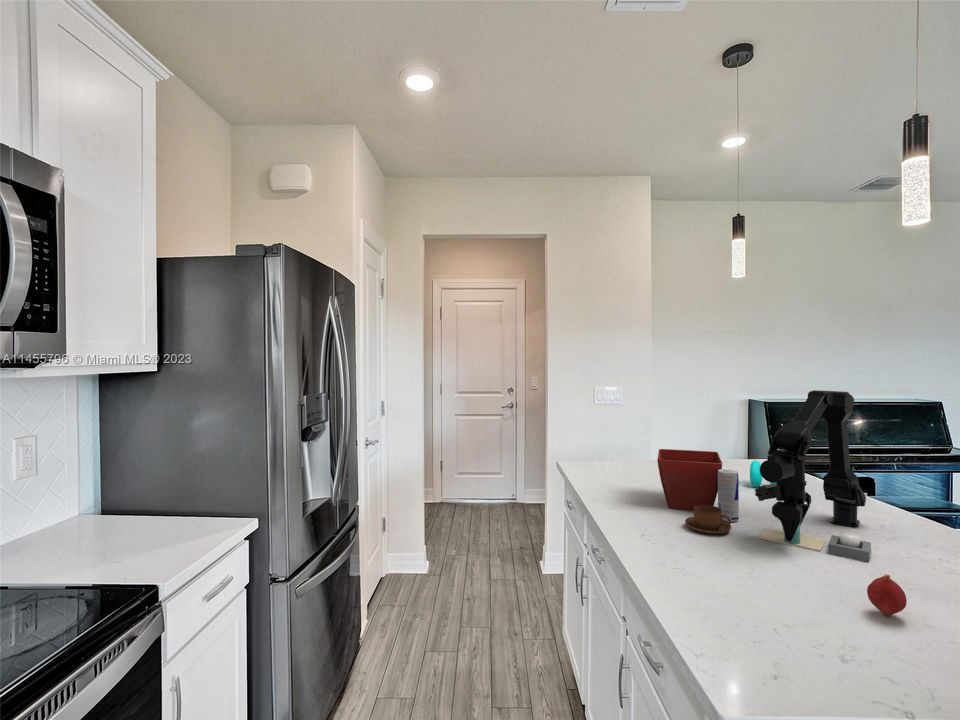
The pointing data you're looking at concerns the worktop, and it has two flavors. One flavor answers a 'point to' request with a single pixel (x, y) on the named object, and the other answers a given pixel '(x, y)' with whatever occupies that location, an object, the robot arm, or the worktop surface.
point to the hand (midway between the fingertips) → (792, 535)
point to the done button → (850, 540)
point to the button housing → (849, 549)
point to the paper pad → (805, 542)
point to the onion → (886, 595)
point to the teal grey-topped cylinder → (796, 537)
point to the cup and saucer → (708, 520)
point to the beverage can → (728, 494)
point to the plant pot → (689, 477)
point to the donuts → (756, 474)
